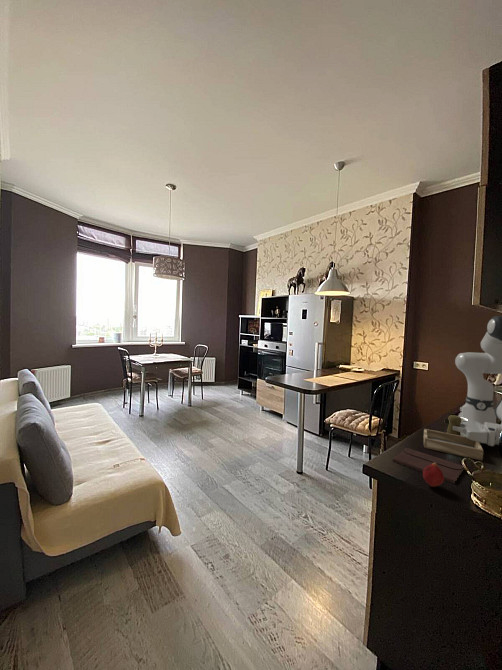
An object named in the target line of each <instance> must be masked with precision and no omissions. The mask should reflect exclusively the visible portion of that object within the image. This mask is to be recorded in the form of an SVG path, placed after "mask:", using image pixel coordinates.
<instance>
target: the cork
mask: <svg viewBox="0 0 502 670" xmlns="http://www.w3.org/2000/svg"><path fill="white" fill-rule="evenodd" d="M447 420H448V425H447V429H446V433H449V434H454V435H459V436H462V435H461V432H459V431H455V430H453V429H452V426H457V427H460V423H462V419H461V418H460V417H459V416H458V415H455V414H450V415H449V416H448V418H447Z"/></svg>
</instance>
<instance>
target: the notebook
mask: <svg viewBox="0 0 502 670" xmlns="http://www.w3.org/2000/svg"><path fill="white" fill-rule="evenodd" d="M392 462H393V463H395V462H396V464H398V463H399V465H401V464H402V465H401V466H404V465H405V466H404V467H406V466H408V467H407V468H409V467H411V468H410V469H412V468H414V469H413V470H415V469H416V470H415V471H417V470H419V471H418V472H420V471H421V472H420V473H423V470H424V468H425V467H426V466H428V465H431V464H433V463H436V464H437V467H438V468H439V469H440V470H441V471H442V472H443V475H444V482H447V481H448V483H450V484H454V485H455V483H456V482H457V480H458V479H457V478H459V477H460V476H461V474H462V472H463V471H464V470H465V466H464V465H462V464H459V463H455V462H452V461H450V460H446V459H443V458H439V457H437V456H434V455H431V454H428V453H424V452H421V451H418V450H415V449H412V448H408V447H405V448H404V449H403V450H402V451H401V452H400V453H398V454H397V455H396V456H394V457H393V459H392ZM463 466H464V467H463ZM459 475H460V476H459ZM455 481H456V482H455Z"/></svg>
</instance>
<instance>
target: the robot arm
mask: <svg viewBox="0 0 502 670" xmlns="http://www.w3.org/2000/svg"><path fill="white" fill-rule="evenodd" d="M480 348H481V350H482V351H483V352H472V351H471V352H469V351H468V352H460V353H458V354H457V356H455V360H454V363H455V366H456V368H457V369H458V370H459V371H460V372H461V373H463V374H464V376H465V378H466V382H467V392H466V393H467V394H466V396H465V404H463V405H462V406H460V407H459V412H460V413H459V414H458V415H457V416H460V417H464V418H467V419H468V422H463V423H462V422H461V423H460V427H457V426H452V429H453V430H455V431H459V432H460V433H462V434H464V435H465V437H467V439H469V440H472V441H477V442H479V443H480V444H486V445H488V446H490V447H494V446H495V445H497V446H500V445H499V437H500V433H501V431H502V398H501V399H500V401H498V403H497V404H496V405H495V407H494V404H495V403H494V399H493V398H494V389H495V388H494V384H493V383H491V381H488V380H487V379H485V378H484V374H491V375H501V374H502V315H496V316H492V317H491V318H490V319H489V320H488V321H487V326H486V333H485V335H484V336H483V338H482V339H481V341H480ZM497 419H498V420H499V422H501V423H500V424H499V423H497Z"/></svg>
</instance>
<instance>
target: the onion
mask: <svg viewBox="0 0 502 670" xmlns="http://www.w3.org/2000/svg"><path fill="white" fill-rule="evenodd" d="M422 478H423V480H424V481H425V483H427V484H428V485H429V486H430V487H432V488H436V487H437V486H438V487H439V486H440V485H442V484H443V483H444V482H445V480H444V475H443V472H442V471H441V470H440V469H439V468H438V467H437V464H436V463H433V464H431V465H428V466H426V467H425V468H424V470H423V472H422Z"/></svg>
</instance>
